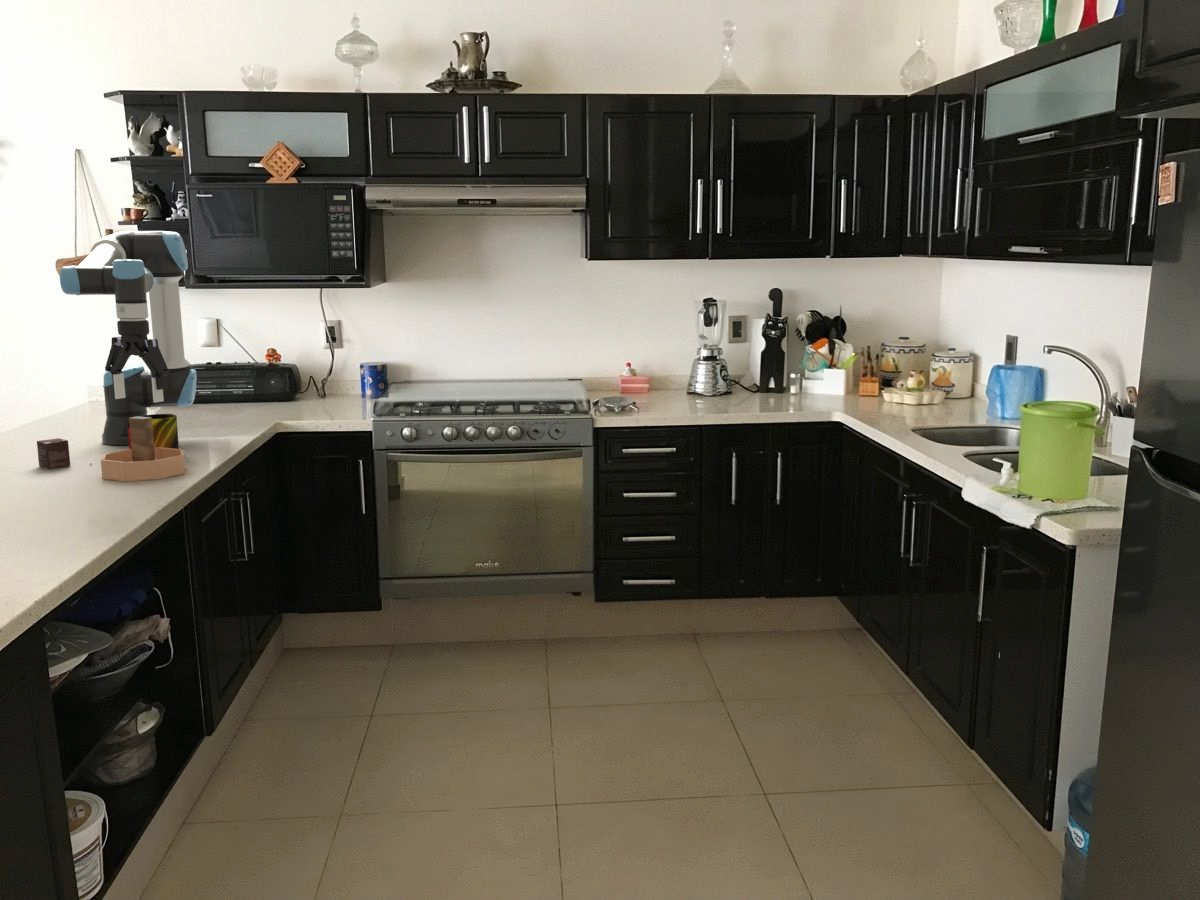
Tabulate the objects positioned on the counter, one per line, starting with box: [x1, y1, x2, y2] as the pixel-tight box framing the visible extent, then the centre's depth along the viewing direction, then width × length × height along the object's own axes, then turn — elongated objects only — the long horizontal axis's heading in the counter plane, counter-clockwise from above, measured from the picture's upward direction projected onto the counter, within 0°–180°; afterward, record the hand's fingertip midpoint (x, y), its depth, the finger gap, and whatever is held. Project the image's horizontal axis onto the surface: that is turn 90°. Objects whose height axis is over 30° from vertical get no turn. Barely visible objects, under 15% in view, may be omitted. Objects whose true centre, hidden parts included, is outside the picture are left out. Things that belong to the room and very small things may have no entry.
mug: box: [128, 413, 180, 449], centre depth 293 cm, size 10×14×12 cm
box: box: [36, 437, 71, 470], centre depth 280 cm, size 6×6×7 cm
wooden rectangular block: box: [129, 416, 155, 461], centre depth 271 cm, size 3×5×14 cm, turn 66°
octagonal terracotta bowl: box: [100, 447, 186, 482], centre depth 272 cm, size 20×20×5 cm
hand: (139, 400), depth 270 cm, fingers open, 13 cm apart
